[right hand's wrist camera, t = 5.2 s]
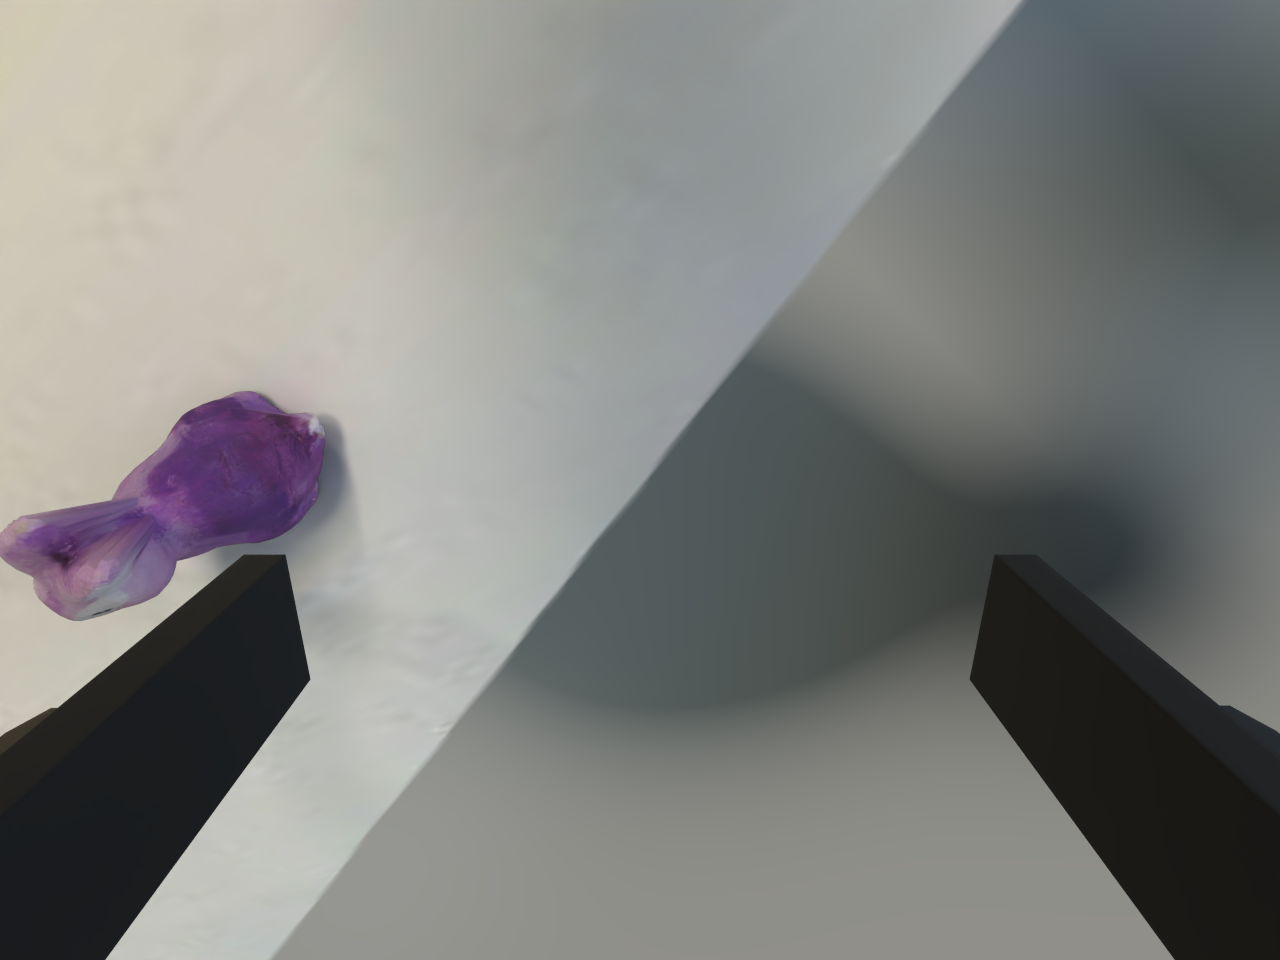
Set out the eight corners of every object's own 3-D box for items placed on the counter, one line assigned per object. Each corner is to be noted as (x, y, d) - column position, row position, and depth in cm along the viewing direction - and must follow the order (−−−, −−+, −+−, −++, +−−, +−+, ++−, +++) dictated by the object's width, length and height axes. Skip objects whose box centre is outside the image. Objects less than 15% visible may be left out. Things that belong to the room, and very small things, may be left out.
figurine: (175, 528, 43) (-54, 675, 29) (175, 370, 39) (-86, 449, 25) (327, 559, 43) (177, 717, 29) (340, 407, 40) (177, 503, 26)
